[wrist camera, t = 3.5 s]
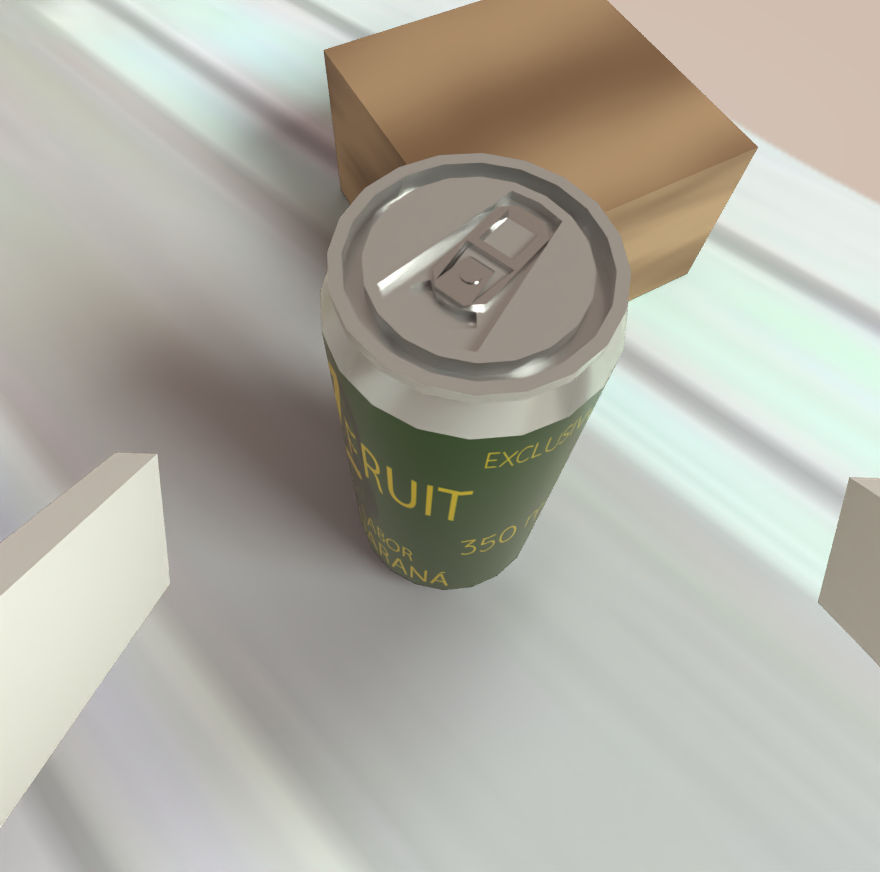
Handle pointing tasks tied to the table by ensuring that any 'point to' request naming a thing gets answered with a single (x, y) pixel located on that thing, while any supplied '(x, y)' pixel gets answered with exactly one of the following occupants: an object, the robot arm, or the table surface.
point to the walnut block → (546, 116)
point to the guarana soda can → (467, 353)
